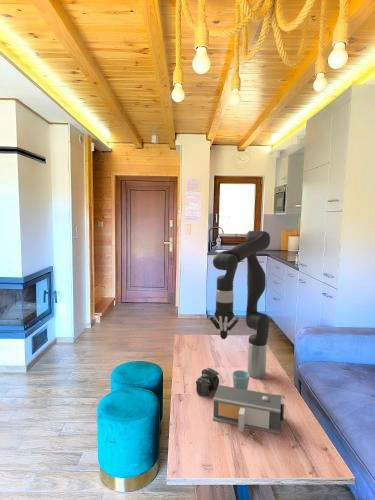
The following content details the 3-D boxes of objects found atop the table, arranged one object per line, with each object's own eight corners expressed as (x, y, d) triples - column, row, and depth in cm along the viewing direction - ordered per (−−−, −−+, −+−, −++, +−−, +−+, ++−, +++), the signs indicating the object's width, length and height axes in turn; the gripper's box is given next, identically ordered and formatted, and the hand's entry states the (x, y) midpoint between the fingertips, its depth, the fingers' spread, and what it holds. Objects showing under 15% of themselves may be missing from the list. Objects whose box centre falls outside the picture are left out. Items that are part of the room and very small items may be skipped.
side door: (240, 421, 126) (240, 405, 125) (268, 427, 122) (269, 410, 121) (238, 431, 120) (238, 413, 119) (267, 437, 117) (268, 419, 116)
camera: (216, 398, 143) (216, 377, 142) (194, 395, 146) (195, 374, 145) (220, 384, 156) (220, 364, 155) (200, 381, 159) (201, 362, 158)
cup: (235, 401, 141) (236, 379, 140) (229, 392, 149) (230, 371, 148) (251, 399, 143) (252, 377, 142) (244, 390, 150) (245, 369, 149)
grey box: (218, 404, 139) (219, 383, 138) (283, 417, 130) (284, 394, 129) (212, 420, 128) (213, 397, 127) (282, 434, 120) (283, 410, 119)
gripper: (241, 299, 138) (240, 337, 140) (211, 296, 142) (211, 333, 144) (238, 303, 131) (237, 343, 133) (207, 300, 135) (206, 339, 137)
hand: (223, 338), depth 138 cm, fingers closed
